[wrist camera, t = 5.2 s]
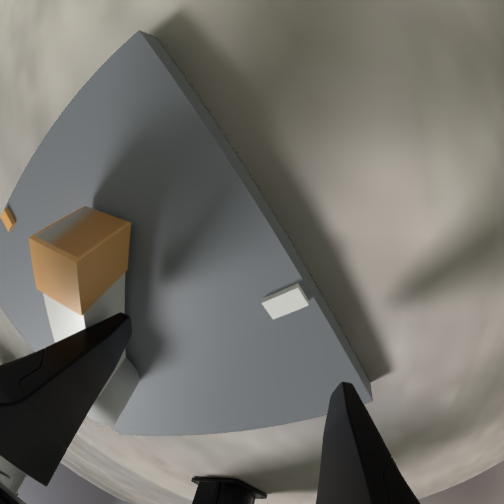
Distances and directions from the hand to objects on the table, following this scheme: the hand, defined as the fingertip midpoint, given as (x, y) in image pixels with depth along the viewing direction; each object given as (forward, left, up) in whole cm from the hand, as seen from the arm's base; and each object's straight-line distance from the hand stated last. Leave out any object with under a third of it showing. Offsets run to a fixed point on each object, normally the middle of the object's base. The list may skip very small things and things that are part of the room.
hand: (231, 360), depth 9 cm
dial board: (+2, +7, -3) cm, 8 cm away
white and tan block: (+3, +6, -1) cm, 6 cm away
